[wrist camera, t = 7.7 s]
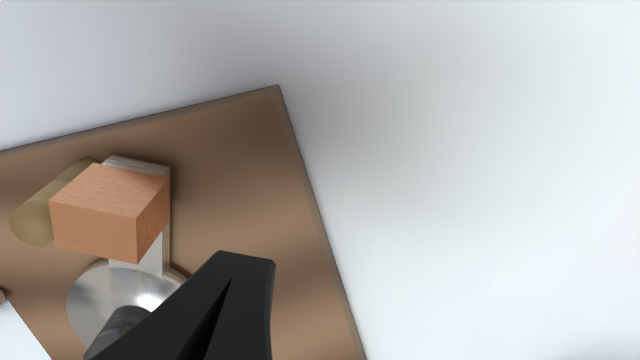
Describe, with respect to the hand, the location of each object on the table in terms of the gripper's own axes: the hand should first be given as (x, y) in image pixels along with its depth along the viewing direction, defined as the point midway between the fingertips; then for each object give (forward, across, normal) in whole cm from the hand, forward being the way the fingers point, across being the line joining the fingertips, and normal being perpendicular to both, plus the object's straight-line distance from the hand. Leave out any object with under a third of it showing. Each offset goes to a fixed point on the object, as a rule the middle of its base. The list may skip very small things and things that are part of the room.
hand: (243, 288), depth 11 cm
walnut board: (+9, +6, +9) cm, 14 cm away
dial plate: (+8, +6, +8) cm, 13 cm away
